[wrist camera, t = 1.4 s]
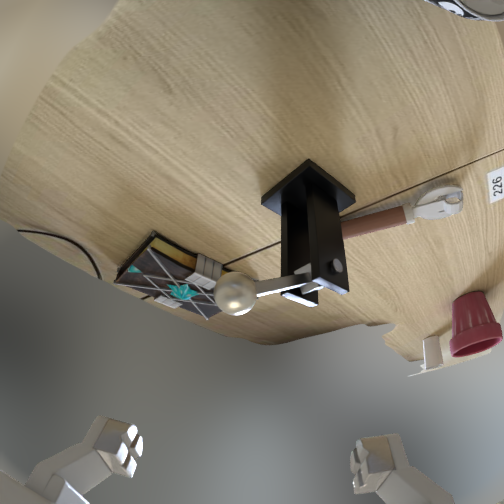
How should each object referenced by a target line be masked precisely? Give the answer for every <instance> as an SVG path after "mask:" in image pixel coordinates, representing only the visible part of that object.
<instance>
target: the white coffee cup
mask: <svg viewBox="0 0 504 504" xmlns="http://www.w3.org/2000/svg"><path fill="white" fill-rule="evenodd" d="M423 346H424V360H425V370H428V369H434V368H438V367H441V366H443V365H444V364H443V358H442V352H441V346H440V341H439V336H431V337H428V338H425V339H424V340H423Z"/></svg>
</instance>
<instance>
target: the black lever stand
mask: <svg viewBox="0 0 504 504" xmlns="http://www.w3.org/2000/svg"><path fill="white" fill-rule="evenodd" d="M355 202H356V200H355V195H354V194H352V193H351V192H350V191H349V190H348V189H346V188H345V187H344V186H343V185H341V184H340V183H339V182H338V181H337V180H335V179H334V178H333V177H331V176H330V175H329V174H328V173H326V172H325V171H324V170H323V169H321V168H320V167H319V166H317V165H316V164H315V163H313V162H312V161H311V160H309V159H308V160H307V161H305V162H304V163H303V164H302V165H300V166H299V167H298V168H297V169H296V170H294V171H293V172H292V173H291V174H289V175H288V176H287V177H286V178H284V179H283V180H282V181H281V182H280V183H278V184H277V185H276V186H275V187H273V188H272V189H271V190H270V191H269V192H267V193H266V194H265V195H264V196H263V197H262V198H261V205H263V206H265V207H267V208H268V209H270V210H272V211H273V212H275V213H277V214H279V215H280V216H281V277H285V276H290V275H295V273H294V271H296V270H298V269H299V268H301V267H303V266H305V265H307V264H309V263H311V278H312V281H314V282H316V283H318V284H320V285H322V286H324V287H326V288H328V289H330V290H333V291H335V292H337V293H339V294H341V295H342V294H345V293H347V292H349V282H348V273H347V265H346V257H345V250H344V242H343V235H342V229H341V222H340V216H339V213H340V212H341V211H343V210H344V209H346V208H348V207H349V206H351V205H352V204H354V203H355ZM281 296H283V297H286V298H289V299H291V300H294V301H296V302H299V303H301V304H304V305H306V306H309V307H314V306H316V305H318V290H317V291H313V292H310V293H306V294H302V292H301V290H300V287H297V288H293V289H288V290H284V291H281Z"/></svg>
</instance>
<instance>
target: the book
mask: <svg viewBox="0 0 504 504" xmlns="http://www.w3.org/2000/svg"><path fill="white" fill-rule="evenodd" d="M222 266H223V265H222V264H220V263H218V262H216V261H214V260H212V259H210V258H208V257H206V256H203V255H201V254H199V253H198V254H197V255H194V254H192V253H189V252H187V251H185V250H183V249H181V248H180V247H178V246H176V245H174V244H172V243H170V242H169V241H167V240H165V239H163V238H161V237H160V236H158V235H157V234H156V233H155V231H152V234H151V235H150V237H149V238H148V239H147V240H146V241H145V242H144V243H143V244H142V246H141V247H140V248H139V249H138V250H137V251H136V252H135V253H134V254H133V255H132V256H131V258H130V259H129V260H128V261H127V262H126V263H125V264H124V265H123V266H122V267H121V268H118V269H117V272H118V274H117V277H116V280H114V283H113V284H116V285H124V286H127V287H130V288H132V289H135V290H138V291H140V292H143V293H145V294H148V295H150V296H153V297H155V298H154V301H157V302H159V303H162V304H164V305H167V306H170V307H172V308H177V307H180V308H183V309H186V310H188V311H191V312H194V313H196V314H199V315H202V316H204V317H205V318H206V319H207V320H209V317H211V316H213V315H215V314H217V313H219V312H221V311H222V310H221V309H220V308H219V307H218V306H217V304H216V302H215V299H214V287H215V285H216V282H217V281H218V280H219V278H220V277H222V276H223V275H225V274H226V273H229V272H231V271H229V270H227V269H225V268H222ZM253 281H254V282H257V281H259V280H253ZM257 299H258V297H257Z"/></svg>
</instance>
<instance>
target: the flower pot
mask: <svg viewBox="0 0 504 504" xmlns="http://www.w3.org/2000/svg"><path fill="white" fill-rule="evenodd" d="M502 339H503V337H502V330H501V325H500V324H499V323H497V322H496V320H495V318H494V315H493V313H492V311H491V308H490V306H489V304H488V302H487V300H486V298H485V296H484V294H483V292H480V291H476V292H471V293H468V294H465V295H463V296H461V297H459V298H458V299H456V300H455V301H454V302H453V304H452V339H451V340H450V342H449V344H450V351H451V356H452V357H463V356H468V355H472V354H476V353H479V352H482V351H484V350H487V349H489V348H491V347H493V346H495V345H497V344H498V343H500V342H501V341H502Z"/></svg>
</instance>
